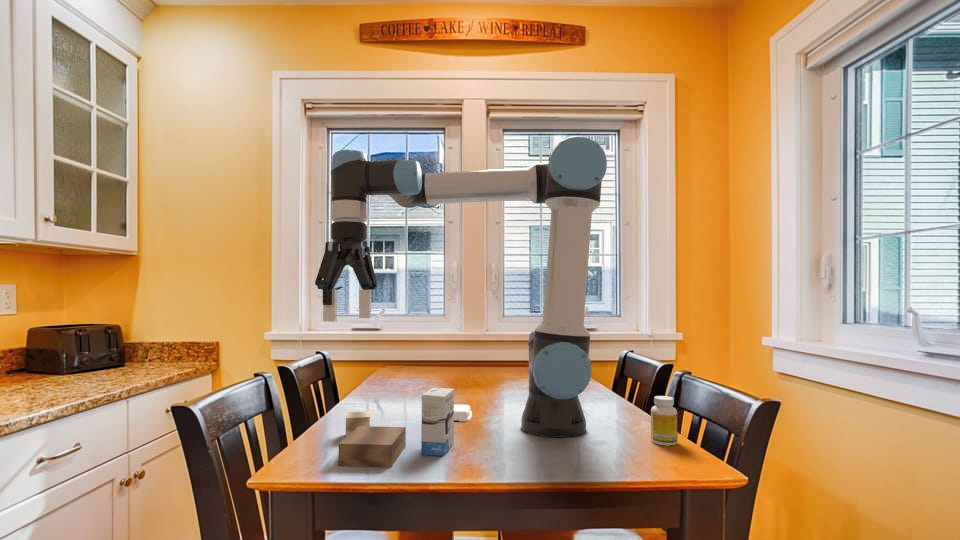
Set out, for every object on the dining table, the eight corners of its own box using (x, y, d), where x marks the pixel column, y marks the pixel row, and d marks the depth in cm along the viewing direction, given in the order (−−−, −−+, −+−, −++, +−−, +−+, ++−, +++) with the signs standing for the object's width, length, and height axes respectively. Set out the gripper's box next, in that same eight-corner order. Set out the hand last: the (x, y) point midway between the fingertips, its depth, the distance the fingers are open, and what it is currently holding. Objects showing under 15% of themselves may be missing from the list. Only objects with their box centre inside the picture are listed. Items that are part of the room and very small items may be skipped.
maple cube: (369, 433, 112) (370, 411, 112) (369, 440, 107) (369, 416, 107) (347, 434, 111) (347, 412, 111) (345, 441, 106) (345, 418, 106)
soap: (470, 423, 122) (470, 411, 122) (443, 422, 122) (443, 411, 122) (473, 414, 131) (473, 403, 131) (447, 413, 131) (447, 403, 131)
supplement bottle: (647, 438, 108) (646, 395, 109) (671, 438, 108) (670, 394, 109) (657, 446, 103) (656, 400, 103) (682, 446, 103) (681, 400, 103)
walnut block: (405, 446, 102) (405, 427, 102) (391, 466, 90) (391, 444, 90) (358, 445, 103) (358, 426, 103) (338, 465, 91) (338, 443, 91)
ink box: (444, 456, 96) (444, 396, 96) (419, 455, 97) (420, 395, 97) (454, 443, 104) (455, 387, 105) (432, 442, 105) (433, 386, 106)
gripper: (364, 230, 120) (363, 316, 119) (297, 214, 97) (296, 322, 96) (391, 228, 118) (391, 316, 117) (329, 212, 94) (328, 323, 93)
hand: (348, 319), depth 106 cm, fingers open, 13 cm apart
